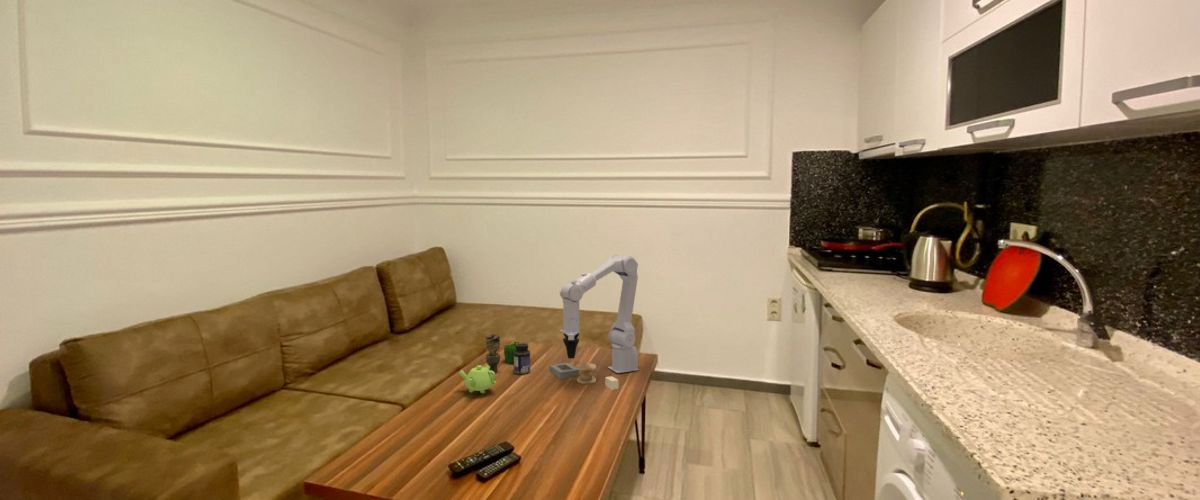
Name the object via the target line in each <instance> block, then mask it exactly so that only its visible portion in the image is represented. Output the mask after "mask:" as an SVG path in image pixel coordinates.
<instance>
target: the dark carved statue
mask: <svg viewBox="0 0 1200 500" xmlns="http://www.w3.org/2000/svg"><path fill="white" fill-rule="evenodd" d="M500 342H501V340H500V335H498V334H494V333H493V334H492V333H491V334H489V335H485V346H486V347H485V350H486V351H488V353H487V354H486V355H485V362H486V364H487V365H488V366H490V369H489V371H490V370H491V371H493V372H494V373H496V372H497V371H498V365H499V363H500V361H501V354H500V353H499V352H498V351H499V350H500V348H501V347H500V345H501V343H500Z"/></svg>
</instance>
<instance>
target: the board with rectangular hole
mask: <svg viewBox="0 0 1200 500" xmlns="http://www.w3.org/2000/svg"><path fill="white" fill-rule="evenodd" d="M549 371H550V372H551V373H552V374H554V376H555V377H556V378H558V379H559V380H562V379H563V380H564V379H568V378H574V377H580V370H578V369H577V366H574V365H573V364H571V363H569V362H564V363H557V364H550V365H549Z"/></svg>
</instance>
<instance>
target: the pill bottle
mask: <svg viewBox="0 0 1200 500" xmlns="http://www.w3.org/2000/svg"><path fill="white" fill-rule="evenodd" d="M513 370H514V371H513V373H514V374H515V375H517V376H518V375H519V376H523V375H524V376H525V374H526V375H528V374H530V373H531V351H530V350H529V344H528V343H525V342H523V343H520V342H519V344H517V343H516V351H515V352H514V364H513Z"/></svg>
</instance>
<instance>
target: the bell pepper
mask: <svg viewBox="0 0 1200 500" xmlns="http://www.w3.org/2000/svg"><path fill="white" fill-rule="evenodd" d="M516 344H520V341H518V340H515V341H514V342H513V343H511V344H507V345H506V344H505V345H504V347H503V355H504V360H505V363H506V364H508V365H514V352H515V351H516Z"/></svg>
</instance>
